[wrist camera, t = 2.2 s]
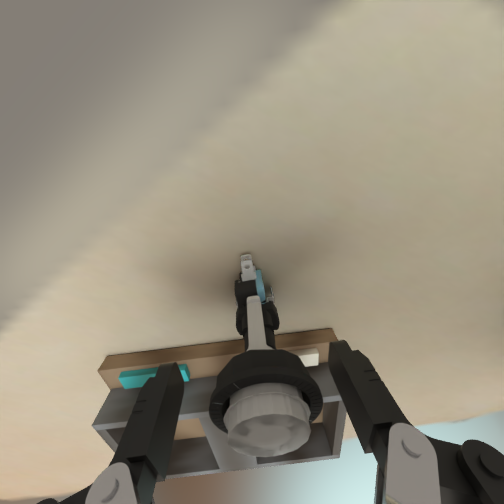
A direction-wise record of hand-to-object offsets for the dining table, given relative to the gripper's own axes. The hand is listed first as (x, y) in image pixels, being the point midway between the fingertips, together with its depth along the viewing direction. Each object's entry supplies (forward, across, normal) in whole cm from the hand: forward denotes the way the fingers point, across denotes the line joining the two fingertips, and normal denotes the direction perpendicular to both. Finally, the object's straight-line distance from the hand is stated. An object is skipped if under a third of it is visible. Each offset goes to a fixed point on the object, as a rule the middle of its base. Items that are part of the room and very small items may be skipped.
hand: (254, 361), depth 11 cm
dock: (+7, +4, +14) cm, 16 cm away
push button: (+7, 0, 0) cm, 7 cm away
